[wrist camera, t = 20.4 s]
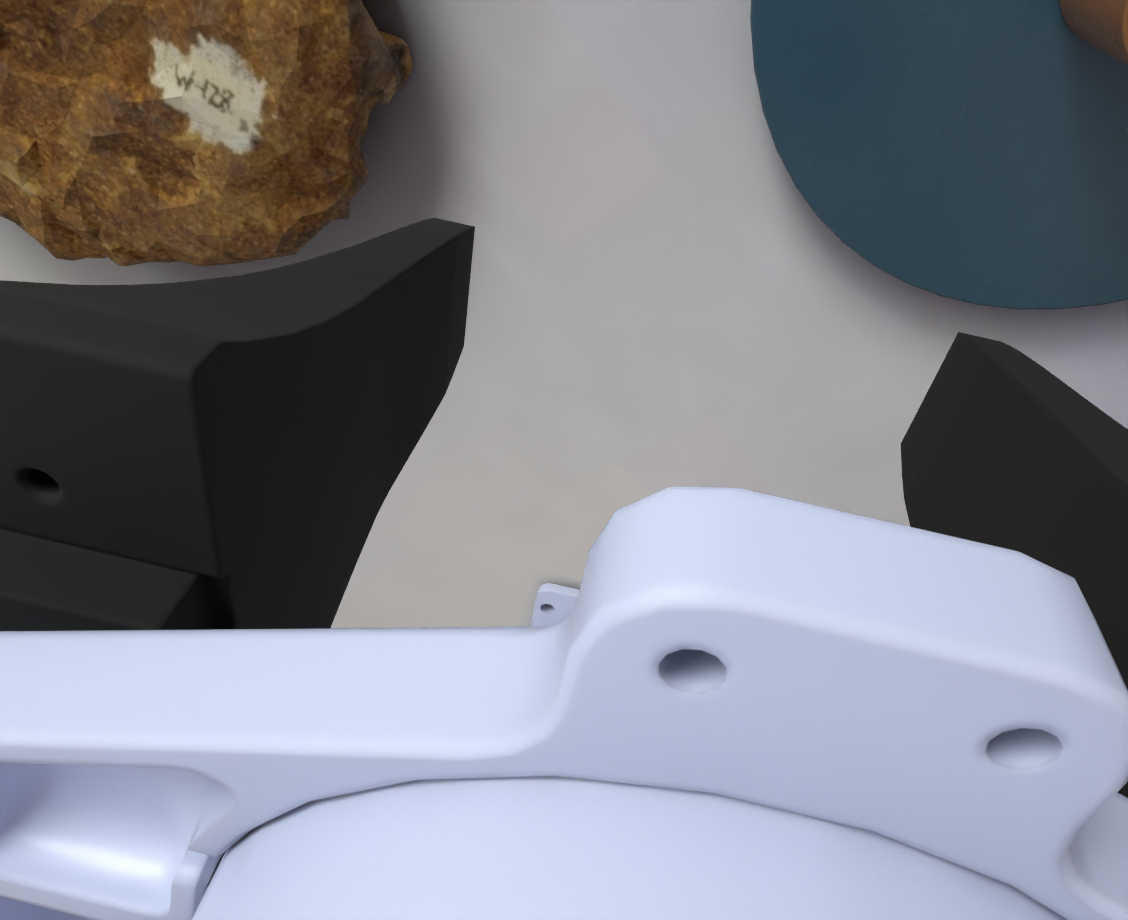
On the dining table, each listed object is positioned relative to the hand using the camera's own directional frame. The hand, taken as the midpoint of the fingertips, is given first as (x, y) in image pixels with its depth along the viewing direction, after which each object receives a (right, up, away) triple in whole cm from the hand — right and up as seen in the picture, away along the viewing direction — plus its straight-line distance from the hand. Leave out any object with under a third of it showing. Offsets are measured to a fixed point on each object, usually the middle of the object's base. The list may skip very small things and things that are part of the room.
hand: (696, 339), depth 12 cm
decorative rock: (-13, +9, +8) cm, 18 cm away
